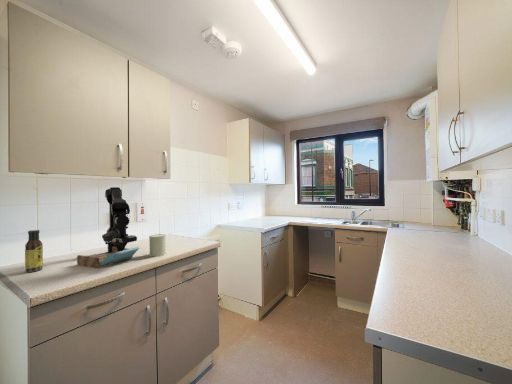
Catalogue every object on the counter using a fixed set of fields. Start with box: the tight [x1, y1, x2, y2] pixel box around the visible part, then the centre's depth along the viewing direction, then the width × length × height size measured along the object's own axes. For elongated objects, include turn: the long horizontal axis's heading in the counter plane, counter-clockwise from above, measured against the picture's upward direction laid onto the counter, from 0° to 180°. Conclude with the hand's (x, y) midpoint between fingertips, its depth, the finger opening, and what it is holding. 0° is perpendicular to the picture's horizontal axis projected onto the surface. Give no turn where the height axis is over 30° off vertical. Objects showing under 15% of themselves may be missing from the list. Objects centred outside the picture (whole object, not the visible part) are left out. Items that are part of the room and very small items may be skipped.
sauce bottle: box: [24, 229, 44, 273], centre depth 113 cm, size 6×6×20 cm
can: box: [148, 233, 167, 257], centre depth 138 cm, size 9×9×12 cm
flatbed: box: [76, 247, 134, 269], centre depth 126 cm, size 16×20×5 cm
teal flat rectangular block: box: [100, 246, 140, 266], centre depth 122 cm, size 2×17×8 cm
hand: (120, 254), depth 122 cm, fingers closed, pressing on teal flat rectangular block
